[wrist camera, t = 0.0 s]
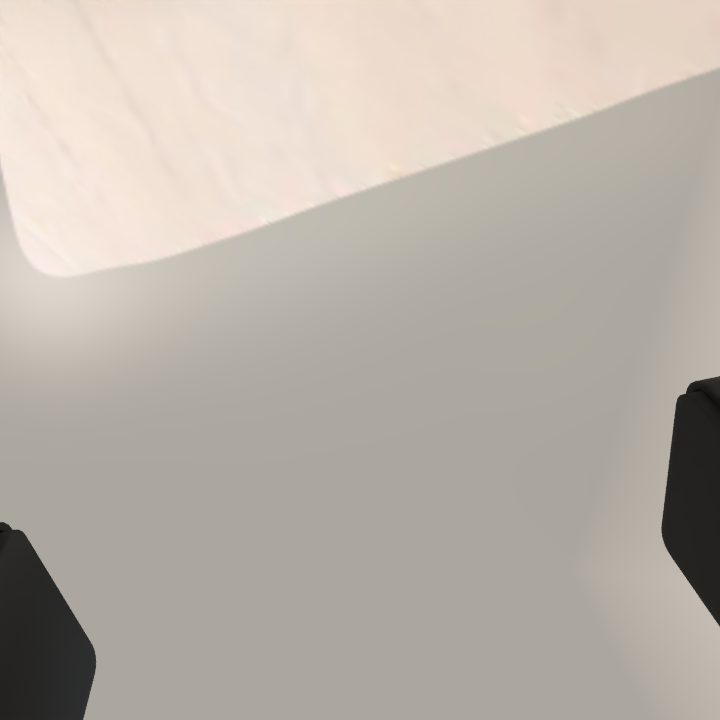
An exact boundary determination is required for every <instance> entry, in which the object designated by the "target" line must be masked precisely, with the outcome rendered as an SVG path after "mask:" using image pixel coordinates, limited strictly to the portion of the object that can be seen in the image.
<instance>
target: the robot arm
mask: <svg viewBox="0 0 720 720" xmlns="http://www.w3.org/2000/svg"><path fill="white" fill-rule="evenodd" d="M662 537H663V541H664V544H665V546H666V548H667V550H668V552H669V554H670V555H671V557H672V558H673V560H674V561H675V562H676V564H677V565H678V567H679V568H680V570H681V571H682V573H683V574H684V576H685V577H686V578H687V580H688V581H689V583H690V584H691V586H692V587H693V589H694V590H695V591H696V593H697V594H698V596H699V597H700V599H701V600H702V601H703V603H704V604H705V606H706V607H707V609H708V610H709V612H710V613H711V615H712V616H713V617H714V619H715V620H716V622H717V623H718V624H719V626H720V376H719V377H715V378H710V379H704V380H700V381H695V382H693V383H691V384H690V385H689V386H688V388H687V391H686V394H683V395H680V396H679V397H678V399H677V403H676V411H675V419H674V427H673V436H672V444H671V452H670V460H669V469H668V478H667V486H666V494H665V502H664V511H663V519H662ZM95 669H96V656H95V651H94V648H93V645H92V644H91V642H90V640H89V639H88V637H87V635H86V634H85V632H84V630H83V629H82V627H81V625H80V624H79V622H78V621H77V619H76V617H75V616H74V614H73V612H72V611H71V609H70V607H69V606H68V604H67V602H66V601H65V599H64V598H63V596H62V594H61V593H60V591H59V589H58V588H57V586H56V585H55V583H54V581H53V579H52V578H51V576H50V575H49V573H48V571H47V570H46V568H45V566H44V565H43V563H42V561H41V560H40V558H39V557H38V555H37V553H36V552H35V550H34V548H33V547H32V545H31V543H30V542H29V540H28V539H27V537H26V535H25V534H24V533H23V532H22V531H20V530H12V529H11V527H10V526H9V525H8V524H6V523H4V522H0V720H83V718H84V714H85V710H86V706H87V702H88V698H89V694H90V691H91V686H92V682H93V679H94V675H95Z"/></svg>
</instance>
